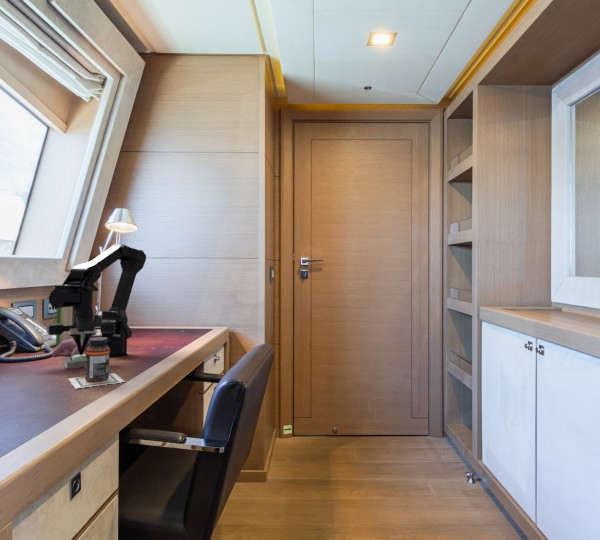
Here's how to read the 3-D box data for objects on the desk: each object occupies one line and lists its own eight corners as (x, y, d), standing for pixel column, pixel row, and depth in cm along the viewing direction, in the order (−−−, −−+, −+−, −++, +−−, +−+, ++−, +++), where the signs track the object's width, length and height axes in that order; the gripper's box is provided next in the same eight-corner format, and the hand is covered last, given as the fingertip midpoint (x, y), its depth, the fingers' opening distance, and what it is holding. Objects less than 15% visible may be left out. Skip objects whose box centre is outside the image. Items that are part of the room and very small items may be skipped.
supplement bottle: (85, 377, 116) (87, 337, 116) (109, 376, 118) (110, 336, 118) (83, 383, 110) (85, 340, 110) (108, 381, 112) (110, 340, 113)
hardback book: (78, 350, 153) (80, 285, 153) (55, 351, 150) (57, 285, 150) (84, 342, 169) (86, 283, 169) (64, 343, 167) (66, 283, 167)
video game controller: (81, 361, 143) (89, 342, 146) (72, 358, 139) (80, 337, 142) (59, 358, 146) (67, 339, 149) (49, 355, 142) (58, 335, 145)
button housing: (93, 360, 138) (93, 354, 138) (99, 365, 131) (99, 360, 131) (62, 363, 133) (62, 357, 133) (66, 369, 126) (67, 363, 126)
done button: (87, 361, 136) (88, 353, 136) (91, 364, 132) (91, 356, 132) (70, 362, 133) (70, 355, 133) (73, 365, 129) (73, 358, 129)
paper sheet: (114, 374, 122) (114, 372, 122) (124, 382, 113) (124, 381, 113) (68, 379, 115) (68, 378, 115) (75, 389, 106) (75, 387, 106)
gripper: (52, 308, 120) (50, 363, 120) (120, 307, 131) (118, 356, 131) (47, 305, 129) (45, 355, 129) (111, 304, 140) (110, 350, 140)
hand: (80, 354), depth 132 cm, fingers closed
